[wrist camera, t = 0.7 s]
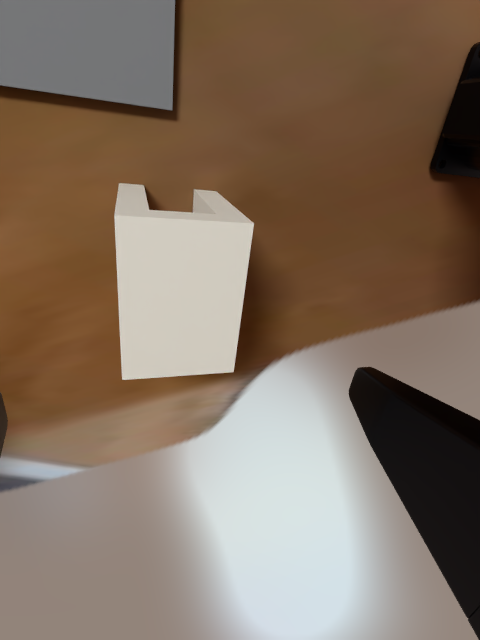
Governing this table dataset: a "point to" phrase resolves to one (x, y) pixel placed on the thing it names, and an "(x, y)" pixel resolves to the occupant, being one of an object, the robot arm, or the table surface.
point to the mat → (90, 49)
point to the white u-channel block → (179, 284)
